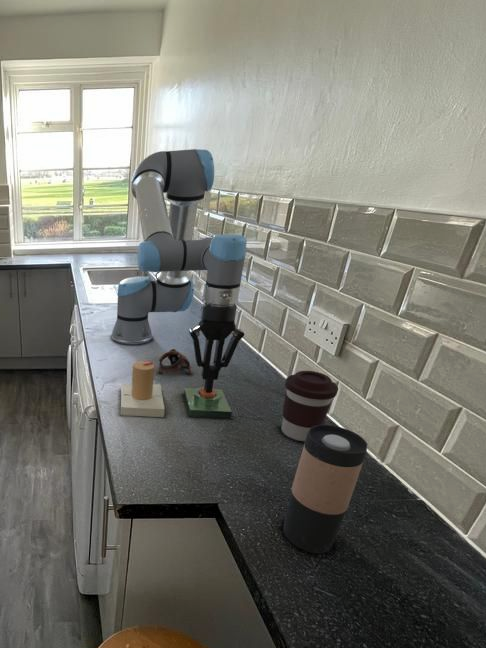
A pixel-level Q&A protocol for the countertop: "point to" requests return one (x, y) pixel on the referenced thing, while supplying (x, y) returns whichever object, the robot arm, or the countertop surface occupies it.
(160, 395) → the panel
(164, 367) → the brown arched frame
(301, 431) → the coffee cup
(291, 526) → the travel mug
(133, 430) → the countertop surface
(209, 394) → the button
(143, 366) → the knob
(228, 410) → the button box
